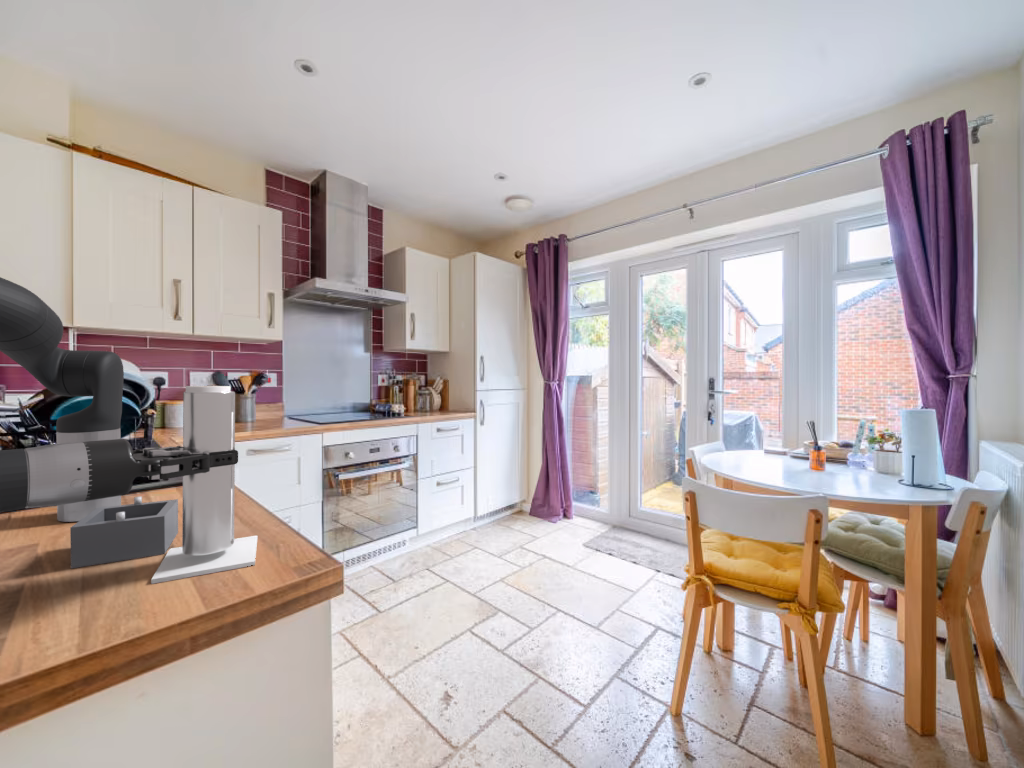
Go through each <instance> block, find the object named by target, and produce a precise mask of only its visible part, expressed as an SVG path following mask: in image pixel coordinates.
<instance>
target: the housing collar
mask: <svg viewBox="0 0 1024 768" xmlns="http://www.w3.org/2000/svg"><path fill="white" fill-rule="evenodd" d="M142 499H143V496H135V497H134V498H133V501H134V502H133V503H130V504H129V503H128V504H121V505H120V506H110V507H101V508H96V509H95V510H94V511H92V512H91V513H90V514H88V515H87V516H86V517H84V518H83V519H81V520H80V521H76V523H75V524H73V525H72V526H70V569H75V568H76V569H77V568H83V567H84V568H85V567H90V566H96V565H102V564H108V563H109V564H110V563H114V562H121V561H128V560H134V559H135V560H136V559H141V558H147V557H153V556H161V555H166V554H167V552H168V551H169V549H170V546H171V545H172V543H173V542H174V540H175V539H176V537H177V535H178V533H179V499H178V498H177V499H169V500H157V501H149V502H143V500H142Z"/></svg>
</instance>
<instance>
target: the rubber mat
mask: <svg viewBox="0 0 1024 768" xmlns="http://www.w3.org/2000/svg"><path fill="white" fill-rule="evenodd" d="M258 537H259V536H258V535H250V536H243V537H238V538H234V544H233V545H232V546H231V547H230V548H228V549H226V550H223V551H221V552H217V553H213V554H209V555H202V556H188V555H185V554H183V552H182V546H179V547H172V548H170V547H169V549H168V550H167V552H166V553H165V556H164V558H163V559H162V561H161V563H160V564H159V565H158V568H157V569H156V571H155V573H154V574H153V575H152V578H151V579H150V583H151V585H152V584H153V585H154V584H159V583H165V582H170V581H176V580H181V579H186V578H192V577H197V576H202V575H208V574H214V573H219V572H225V571H231V570H236V569H240V568H247V566H248V567H252V566H251V565H253V566H255V565H256V559H257V558H256V557H257V548H258V547H257V546H258ZM255 558H256V559H255Z"/></svg>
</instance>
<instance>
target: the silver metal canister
mask: <svg viewBox="0 0 1024 768" xmlns="http://www.w3.org/2000/svg"><path fill="white" fill-rule="evenodd" d="M231 389H232V387H231V386H230V385H229V386H228V385H211V384H207V385H186V386H185V391H183V398H182V399H183V400H182V401H183V402H182V405H183V406H182V407H183V408H182V410H183V411H182V414H183V415H182V447H183V450H189V451H190V452H191V453H199V452H204V451H207V452H219V451H226V450H236V447H235V446H236V391H231ZM192 466H199V459H198V460H193V461H192ZM235 466H236V464H233V465H226V466H219V467H211V468H210V471H209V472H206V473H198V474H192V475H186V476H182V530H181V531H182V536H181V537H182V544H181V545H182V546H181V547H182V552H183V554H185V555H188V556H202V555H209V554H213V553H217V552H221V551H223V550H226V549H228V548H230V547H231V546H232V545H233V544H234V539H235V481H236V480H235V476H236V475H235V468H236V467H235Z"/></svg>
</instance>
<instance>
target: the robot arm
mask: <svg viewBox="0 0 1024 768" xmlns="http://www.w3.org/2000/svg"><path fill="white" fill-rule="evenodd" d="M63 335H64V324H63V322H62V320H61V318H60V316H59V315H58V314H57V313H56V312H55V311H54V310H53V309H52V308H51V307H50V306H49V305H48V304H47V303H46V302H45V301H44V300H43V299H41V298H40V297H39V296H38V295H37V294H35V293H34V292H32V290H31V291H30V290H29V289H28V288H26V287H24V286H22V285H20V284H17V283H15V282H13V281H11V280H9V279H6V278H3V277H1V276H0V352H1V353H2V354H4V355H6V356H7V357H8V358H10V359H11V360H12V361H14V363H16V364H18V365H19V366H21V367H22V368H23V369H25V370H26V371H27V372H28V373H29V374H30V375H32V376H33V378H35V380H37V381H38V382H39V383H40V384H41V385H42V386H43V387H44V388H46V389H47V390H48V391H50V392H51V393H53V394H55V395H58V396H62V397H92V401H91V404H89V406H87V407H85V408H82V410H79V411H76V412H72V413H69V414H65V415H62V416H60V417H58V418H57V420H56V424H55V425H56V426H55V430H56V435H55V436H56V443H55V444H53V443H52V444H46V445H40V446H35V447H27V448H16V449H15V448H14V449H3V450H0V513H4V512H10V511H12V512H13V511H16V510H23V509H30V508H31V509H33V508H46V507H55V506H56V510H57V511H56V516H57V518H56V520H57V521H58V522H66V523H68V522H69V523H70V522H71V523H72V522H79V521H80V520H81V519H83V518H84V517H86V516H87V515H88V514H90V513H91V512H92V511H94V510H95V509H96V508H101V507H110V506H120V505H122V496H125V495H128V494H129V493H130V492H131V490H132V489H133V485H134V480H135V479H136V478H139V477H141V478H142V477H143V478H148V480H150V481H151V480H164V481H165V480H169V479H175V478H179V477H183V476H186V475H192V474H198V473H206V472H209V471H210V468H211V467H219V466H226V465H233V464H235V465H237V464H238V463H239V451H238V450H237V449H235V450H226V451H219V452H207V451H204V452H199V453H191V452H190V451H189V450H183V446H179V445H177V446H166V447H145V448H142V449H141V448H140V449H139V448H138V449H135V450H133V448H132V445H131V443H130V442H129V440H127V439H124V438H121V437H122V436H121V435H122V434H121V433H122V432H121V422H122V421H121V419H122V414H123V395H124V394H123V391H124V377H125V376H124V374H125V373H124V364H123V361H122V359H121V357H120V356H119V355H118V354H117V353H116V352H113V351H106V350H105V351H104V350H74V349H73V350H72V349H64V348H62V347H59V345H60V342H61V341H62V338H63V337H64V336H63ZM198 459H199V466H192V461H193V460H198Z"/></svg>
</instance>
